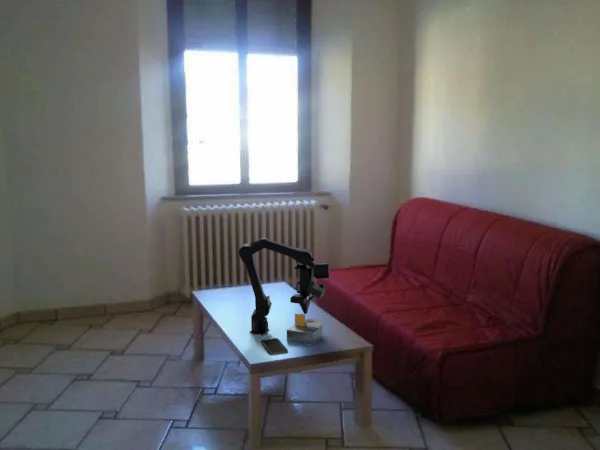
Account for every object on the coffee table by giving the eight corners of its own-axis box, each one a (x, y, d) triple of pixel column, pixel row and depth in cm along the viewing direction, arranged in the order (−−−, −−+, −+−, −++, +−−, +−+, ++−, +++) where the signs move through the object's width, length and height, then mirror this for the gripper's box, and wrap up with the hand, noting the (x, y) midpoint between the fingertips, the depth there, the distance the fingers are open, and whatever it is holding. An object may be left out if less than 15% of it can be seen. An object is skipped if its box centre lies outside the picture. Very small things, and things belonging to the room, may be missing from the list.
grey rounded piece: (303, 338, 246) (303, 322, 245) (309, 333, 252) (309, 317, 250) (316, 340, 244) (316, 324, 242) (322, 335, 249) (321, 319, 248)
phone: (269, 353, 231) (259, 340, 245) (269, 356, 231) (259, 342, 245) (288, 350, 233) (277, 337, 247) (288, 353, 234) (277, 340, 248)
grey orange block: (295, 325, 250) (294, 313, 250) (297, 322, 253) (297, 311, 252) (304, 326, 249) (304, 315, 248) (307, 324, 251) (307, 313, 250)
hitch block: (286, 341, 246) (286, 329, 245) (296, 333, 255) (296, 322, 254) (313, 345, 241) (313, 333, 240) (322, 337, 250) (322, 326, 249)
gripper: (314, 286, 240) (314, 322, 243) (330, 275, 257) (330, 309, 260) (289, 283, 245) (290, 319, 247) (307, 272, 261) (307, 306, 264)
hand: (305, 313), depth 254 cm, fingers closed
